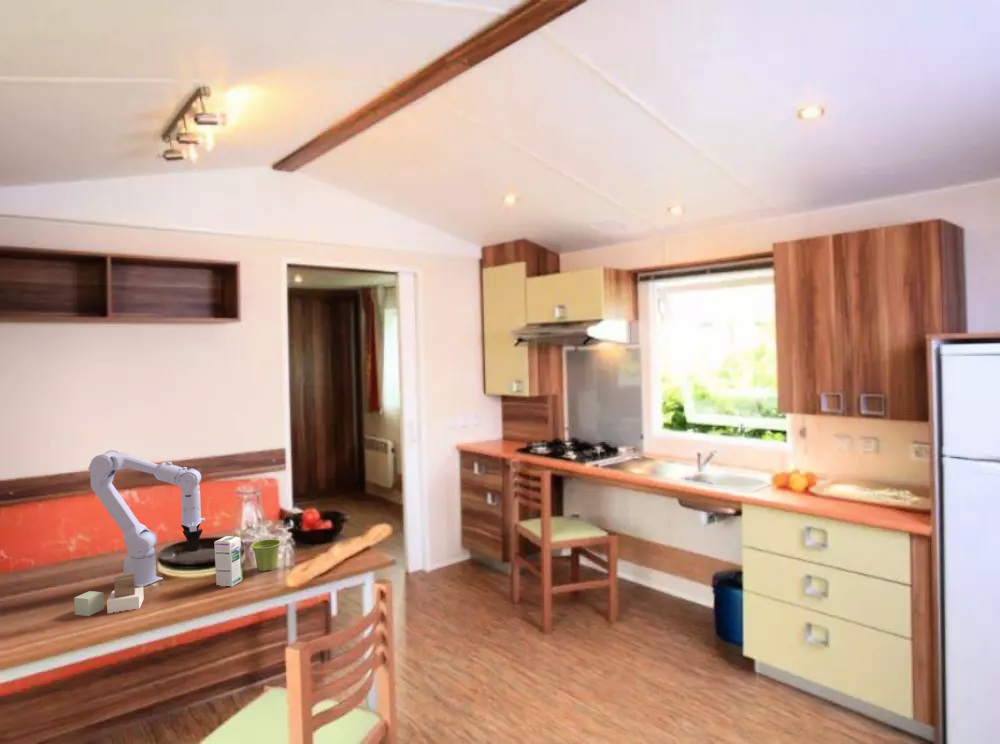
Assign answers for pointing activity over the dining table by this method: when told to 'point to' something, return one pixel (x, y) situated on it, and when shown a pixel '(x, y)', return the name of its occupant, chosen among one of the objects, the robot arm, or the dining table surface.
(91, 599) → the sage green block
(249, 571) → the dining table surface
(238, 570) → the syrup box
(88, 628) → the dining table surface
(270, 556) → the plant pot
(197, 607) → the dining table surface
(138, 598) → the base block
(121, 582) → the walnut block
